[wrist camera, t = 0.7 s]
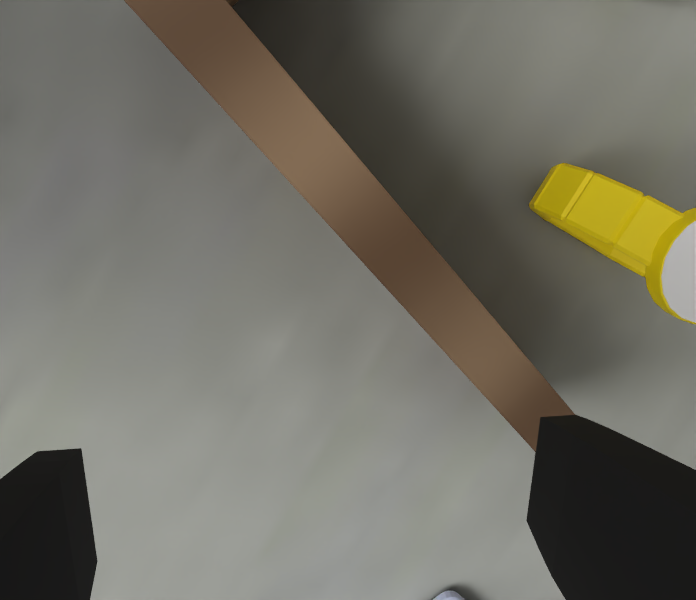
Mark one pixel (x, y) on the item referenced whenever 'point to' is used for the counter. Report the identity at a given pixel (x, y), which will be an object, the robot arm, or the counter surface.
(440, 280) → the wooden u-shaped block
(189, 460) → the counter surface
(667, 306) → the watch
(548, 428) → the robot arm
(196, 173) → the counter surface
